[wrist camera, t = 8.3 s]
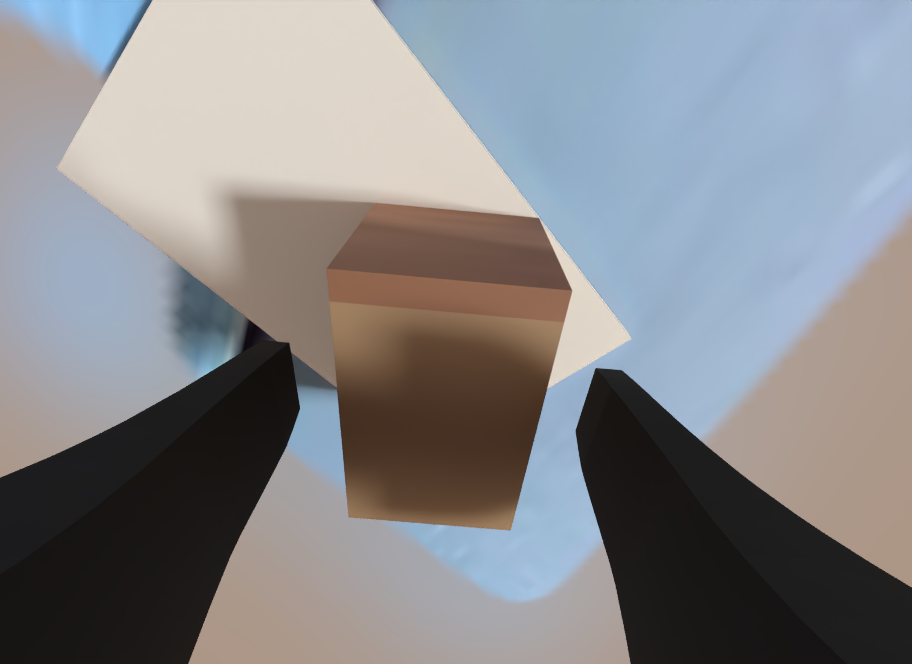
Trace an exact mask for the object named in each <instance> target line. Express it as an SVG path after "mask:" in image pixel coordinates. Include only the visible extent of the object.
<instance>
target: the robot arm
mask: <svg viewBox="0 0 912 664" xmlns="http://www.w3.org/2000/svg"><path fill="white" fill-rule="evenodd" d="M299 410H300V405H299V399H298V393H297V386H296V380H295V374H294V368H293V362H292V356H291V349H290V343H288V342H276V341H264V340H263V341H261V342H260V343H258V344H256V345H254V346H252V347H250V348H249V349H247V350H245V351H244V352H242V353H240V354H239V355H237V356H235V357H234V358H232V359H231V360H229V361H227V362H226V363H224V364H222V365H221V366H219V367H218V368H216V369H214V370H213V371H211V372H209V373H208V374H206V375H204V376H203V377H201V378H199V379H198V380H196V381H195V382H193V383H191V384H190V385H188V386H186V387H185V388H183V389H181V390H180V391H178V392H176V393H174V394H172V395H171V396H169V397H167V398H165V399H163V400H162V401H160V402H158V403H156V404H155V405H153V406H151V407H149V408H147V409H146V410H144V411H142V412H140V413H138V414H137V415H135V416H133V417H131V418H129V419H128V420H126V421H124V422H122V423H120V424H118V425H116V426H114V427H112V428H110V429H108V430H106V431H104V432H102V433H100V434H98V435H96V436H94V437H92V438H90V439H88V440H85V441H83V442H81V443H79V444H77V445H75V446H73V447H71V448H69V449H66V450H64V451H62V452H60V453H58V454H56V455H53V456H51V457H49V458H47V459H44V460H42V461H39V462H37V463H34V464H32V465H30V466H27V467H25V468H23V469H20V470H18V471H15V472H13V473H10V474H8V475H6V476H3V477H1V478H0V664H188V663H189V660H190V658H191V655H192V652H193V650H194V647H195V644H196V642H197V639H198V637H199V634H200V631H201V629H202V626H203V623H204V621H205V618H206V616H207V613H208V610H209V608H210V605H211V603H212V600H213V597H214V595H215V593H216V590H217V588H218V585H219V583H220V581H221V578H222V576H223V573H224V571H225V568H226V566H227V563H228V561H229V558H230V556H231V554H232V552H233V550H234V548H235V545H236V543H237V541H238V539H239V537H240V535H241V533H242V531H243V529H244V527H245V525H246V524H247V521H248V520H249V518H250V516H251V514H252V512H253V510H254V508H255V506H256V504H257V503H258V501H259V499H260V497H261V495H262V493H263V491H264V489H265V487H266V485H267V483H268V481H269V479H270V478H271V476H272V474H273V472H274V470H275V468H276V466H277V464H278V462H279V460H280V458H281V456H282V454H283V452H284V450H285V448H286V446H287V444H288V441H289V438H290V436H291V433H292V430H293V428H294V425H295V422H296V419H297V416H298V413H299ZM576 437H577V444H578V451H579V457H580V462H581V468H582V472H583V476H584V479H585V483H586V486H587V490H588V493H589V496H590V500H591V503H592V506H593V510H594V513H595V516H596V520H597V523H598V526H599V529H600V533H601V536H602V539H603V543H604V546H605V549H606V552H607V555H608V559H609V562H610V566H611V569H612V574H613V577H614V581H615V585H616V589H617V594H618V600H619V605H620V610H621V615H622V619H623V624H624V630H625V634H626V640H627V646H628V651H629V657H630V662H631V664H912V587H910V586H908V585H906V584H905V583H903V582H902V581H900V580H898V579H897V578H894V577H893V576H891V575H890V574H888V573H886V572H885V571H883V570H882V569H880V568H878V567H877V566H875V565H873V564H872V563H870V562H868V561H867V560H865V559H864V558H862V557H860V556H859V555H857V554H856V553H854V552H852V551H851V550H850V549H848V548H846V547H845V546H843V545H842V544H840V543H839V542H837V541H835V540H834V539H832V538H831V537H829V536H828V535H826V534H825V533H823V532H821V531H820V530H818V529H817V528H815V527H814V526H812V525H811V524H810V523H808V522H807V521H805V520H804V519H802V518H800V517H799V516H798V515H796V514H795V513H793V512H792V511H791V510H789V509H788V508H786V507H785V506H784V505H782V504H781V503H779V502H778V501H777V500H775V499H774V498H773V497H771V496H770V495H768V494H767V493H766V492H764V491H763V490H761V489H760V488H759V487H757V486H756V485H755V484H753V483H752V482H751V481H749V480H748V479H747V478H746V477H744V476H743V475H742V474H740V473H739V472H738V471H736V470H735V469H734V468H733V467H732V466H730V465H729V464H728V463H727V462H725V461H724V460H723V459H722V458H720V457H719V456H718V455H717V454H716V453H714V452H713V451H712V450H711V449H710V448H708V447H707V446H706V445H705V444H704V443H703V442H701V441H700V440H699V439H698V438H697V437H696V436H694V435H693V434H692V433H691V432H690V431H689V430H688V429H686V428H685V427H684V426H683V425H682V424H681V423H680V422H679V421H677V420H676V419H675V418H674V417H673V416H672V415H671V414H670V413H669V412H668V411H666V410H665V409H664V408H663V407H662V406H661V405H660V404H659V403H658V402H657V401H656V400H654V399H653V398H652V397H651V396H650V395H649V394H648V393H647V392H646V391H645V390H644V389H642V388H641V387H640V386H639V385H638V384H637V383H636V382H635V381H634V380H633V379H631V378H630V377H629V376H628V375H627V374H625V373H624V372H623V371H622V370H612V369H600V368H596V369H595V372H594V375H593V378H592V381H591V384H590V387H589V391H588V394H587V397H586V400H585V403H584V406H583V409H582V412H581V416H580V419H579V422H578V425H577V428H576Z"/></svg>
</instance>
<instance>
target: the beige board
mask: <svg viewBox="0 0 912 664" xmlns="http://www.w3.org/2000/svg"><path fill="white" fill-rule="evenodd" d="M56 169H57V170H59V171H60V172H61V173H62V174H63V175H65V176H66V177H67V178H69V179H70V180H71V181H72V182H74V183H75V184H76V185H78V186H79V187H80V188H82V189H83V190H84V191H86V193H88V194H89V195H91V196H92V197H93V198H94V199H96V200H97V201H98V202H99V203H101V204H102V205H103V206H104V207H106V208H107V209H108V210H110V211H111V212H112V213H114V214H115V215H116V216H117V217H118V218H120V219H121V220H122V221H124V222H125V223H126V224H127V225H129V226H130V227H131V228H133V229H134V230H135V231H137V232H138V233H139V234H140V235H142V236H143V237H144V238H145V239H147V240H148V241H149V242H151V243H152V244H154V246H156V247H157V248H158V249H159V250H161V251H162V252H163V253H165V254H166V255H167V256H168V257H170V258H171V259H172V260H174V261H175V262H176V263H177V264H179V265H180V266H181V267H183V268H184V269H185V270H186V271H188V272H189V273H190V274H192V275H193V276H194V277H195V278H197V279H198V280H199V281H200V282H202V283H203V284H204V285H206V286H207V287H208V288H209V289H211V290H212V291H213V292H215V293H216V294H217V295H218V296H220V297H221V298H222V299H224V300H225V301H226V302H227V303H229V304H230V305H231V306H232V307H234V308H235V309H236V310H238V311H239V312H240V313H241V314H243V315H244V316H245V317H247V318H248V319H249V320H250V321H252V322H253V323H254V324H256V325H257V326H258V327H259V328H261V329H262V330H263V331H265V332H266V333H267V334H268V335H270V336H271V337H272V338H273V339H275V340H276V341H277V342H288V343H290V349H291V353H293V354H294V355H295V356H297V357H298V358H299V359H300V360H302V361H303V362H304V363H306V364H307V365H308V366H309V367H311V368H312V369H313V370H314V371H316V372H317V373H318V374H320V375H321V376H322V377H323V378H325V379H326V380H327V381H329V382H330V383H331V384H332V385H334V386H335V387H336V388H337V382H336V371H335V360H334V348H333V337H332V326H331V315H330V304H329V293H328V281H327V270H326V268H327V267H328V266H329V264H330V263H331V262H332V260H333V259H334V258H335V256H336V255H337V254H338V252H339V251H340V250H341V248H342V247H343V246H344V244H345V243H346V242H347V240H348V239H349V238H350V236H351V235H352V234H353V232H354V231H355V230H356V228H357V227H358V226H359V224H360V223H361V222H362V220H363V219H364V218H365V216H366V215H367V213H368V212H369V211H370V209H371V208H372V207H373V205H374V204H375V203H383V204H394V205H404V206H415V207H426V208H437V209H447V210H458V211H469V212H480V213H491V214H501V215H512V216H523V217H534V218H539V219H540V217H539V216H538V215H537V213H536V212H535V211H534V210H533V208H532V207H531V206H530V204H529V203H528V202H527V200H526V199H525V198H524V197H523V195H522V194H521V193H520V191H519V190H518V189H517V187H516V186H515V185H514V184H513V182H512V181H511V180H510V178H509V177H508V176H507V174H506V173H505V172H504V171H503V169H502V168H501V167H500V165H499V164H498V163H497V161H496V160H495V159H494V158H493V156H492V155H491V154H490V152H489V151H488V150H487V148H486V147H485V146H484V145H483V143H482V142H481V141H480V139H479V138H478V137H477V135H476V134H475V133H474V132H473V130H472V129H471V128H470V126H469V125H468V124H467V123H466V121H465V120H464V119H463V117H462V116H461V115H460V113H459V112H458V111H457V110H456V108H455V107H454V106H453V104H452V103H451V102H450V100H449V99H448V98H447V97H446V95H445V94H444V93H443V91H442V90H441V89H440V87H439V86H438V85H437V84H436V82H435V81H434V80H433V78H432V77H431V76H430V74H429V73H428V72H427V71H426V69H425V68H424V67H423V65H422V64H421V63H420V61H419V60H418V59H417V58H416V56H415V55H414V54H413V52H412V51H411V50H410V49H409V47H408V46H407V45H406V43H405V42H404V41H403V39H402V38H401V37H400V36H399V34H398V33H397V32H396V30H395V29H394V28H393V26H392V25H391V24H390V23H389V21H388V20H387V19H386V17H385V16H384V15H383V13H382V12H381V11H380V10H379V8H378V7H377V6H376V4H375V3H374V2H373V0H152V2H151V4H150V6H149V7H148V9H147V11H146V13H145V14H144V16H143V18H142V20H141V21H140V23H139V25H138V27H137V28H136V30H135V32H134V34H133V35H132V37H131V39H130V41H129V42H128V44H127V46H126V48H125V49H124V51H123V53H122V55H121V56H120V58H119V60H118V62H117V63H116V65H115V67H114V68H113V70H112V72H111V74H110V75H109V77H108V79H107V81H106V82H105V84H104V86H103V88H102V89H101V91H100V93H99V95H98V97H97V98H96V100H95V102H94V103H93V105H92V107H91V109H90V110H89V113H88V114H87V116H86V117H85V119H84V121H83V123H82V124H81V126H80V128H79V130H78V131H77V133H76V135H75V137H74V138H73V140H72V142H71V144H70V145H69V147H68V149H67V151H66V152H65V154H64V156H63V158H62V159H61V161H60V163H59V165H58V166H57V168H56ZM540 221H541V224H542V226H543V228H544V230H545V232H546V234H547V237H548V239H549V241H550V243H551V245H552V247H553V250H554V252H555V254H556V256H557V258H558V260H559V263H560V265H561V267H562V269H563V271H564V273H565V276H566V278H567V280H568V282H569V284H570V287H571V289H572V294H571V298H570V302H569V306H568V310H567V314H566V318H565V322H564V325H563V329H562V333H561V337H560V341H559V345H558V349H557V353H556V356H555V360H554V364H553V368H552V372H551V376H550V380H549V384H548V387H547V389H548V388H549V387H551V386H553V385H554V384H556V383H558V382H559V381H561V380H563V379H564V378H566V377H568V376H569V375H571V374H573V373H575V372H576V371H578V370H580V369H581V368H583V367H585V366H586V365H588V364H590V363H591V362H593V361H595V360H596V359H598V358H600V357H601V356H603V355H605V354H607V353H608V352H610V351H612V350H613V349H615V348H617V347H618V346H620V345H622V344H623V343H625V342H627V341H628V340H630V339H631V337H630V335H629V334H628V332H627V330H626V329H625V328H624V326H623V325H622V324H621V322H620V321H619V320H618V319H617V317H616V316H615V315H614V313H613V312H612V311H611V309H610V308H609V307H608V306H607V304H606V303H605V302H604V300H603V299H602V298H601V296H600V295H599V294H598V293H597V291H596V290H595V289H594V287H593V286H592V285H591V284H590V282H589V281H588V280H587V278H586V277H585V276H584V274H583V273H582V272H581V271H580V269H579V268H578V267H577V265H576V264H575V263H574V261H573V260H572V259H571V258H570V256H569V255H568V254H567V252H566V251H565V250H564V248H563V247H562V246H561V245H560V243H559V242H558V241H557V239H556V238H555V237H554V235H553V234H552V233H551V232H550V230H549V229H548V228H547V226H546V225H545V224H544V222H543V221H542V220H541V219H540Z"/></svg>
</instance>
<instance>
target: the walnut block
mask: <svg viewBox="0 0 912 664" xmlns="http://www.w3.org/2000/svg"><path fill="white" fill-rule="evenodd" d="M326 270H327V281H328V293H329V304H330V315H331V326H332V337H333V348H334V360H335V371H336V382H337V393H338V404H339V415H340V427H341V438H342V449H343V460H344V471H345V482H346V494H347V505H348V516H349V517H352V518H364V519H376V520H388V521H401V522H413V523H425V524H438V525H450V526H463V527H475V528H487V529H500V530H511V527H512V523H513V519H514V515H515V511H516V507H517V504H518V500H519V496H520V492H521V488H522V484H523V480H524V476H525V473H526V469H527V465H528V461H529V457H530V453H531V449H532V446H533V442H534V438H535V434H536V430H537V426H538V422H539V418H540V415H541V411H542V407H543V403H544V399H545V395H546V391H547V387H548V384H549V380H550V376H551V372H552V368H553V364H554V360H555V356H556V353H557V349H558V345H559V341H560V337H561V333H562V329H563V325H564V322H565V318H566V314H567V310H568V306H569V302H570V298H571V294H572V289H571V287H570V284H569V282H568V280H567V278H566V276H565V273H564V271H563V269H562V267H561V265H560V263H559V260H558V258H557V256H556V254H555V252H554V250H553V247H552V245H551V243H550V241H549V239H548V237H547V234H546V232H545V230H544V228H543V226H542V224H541V221H540V219H539V218H534V217H523V216H512V215H501V214H491V213H480V212H469V211H458V210H447V209H437V208H426V207H415V206H404V205H394V204H383V203H375V204H374V205H373V207H372V208H371V209H370V211H369V212H368V213H367V215H366V216H365V218H364V219H363V220H362V222H361V223H360V224H359V226H358V227H357V228H356V230H355V231H354V232H353V234H352V235H351V236H350V238H349V239H348V240H347V242H346V243H345V244H344V246H343V247H342V248H341V250H340V251H339V252H338V254H337V255H336V256H335V258H334V259H333V260H332V262H331V263H330V264H329V266H328V267H327V268H326Z"/></svg>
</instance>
